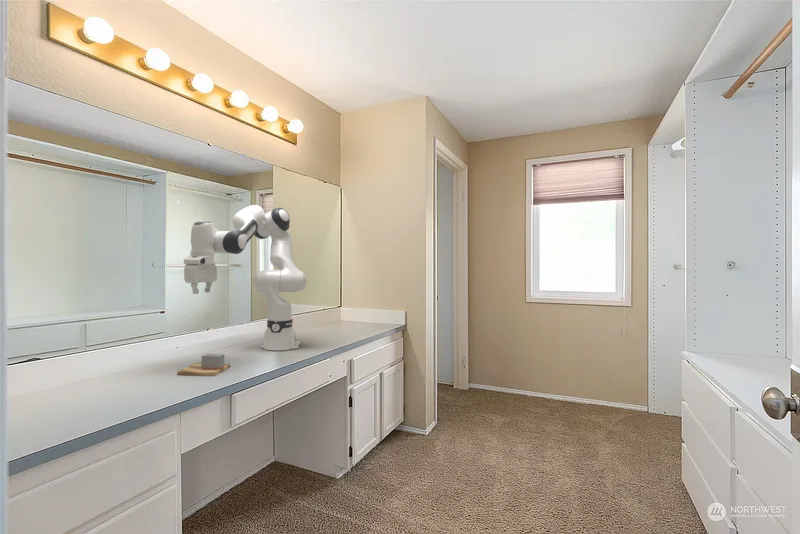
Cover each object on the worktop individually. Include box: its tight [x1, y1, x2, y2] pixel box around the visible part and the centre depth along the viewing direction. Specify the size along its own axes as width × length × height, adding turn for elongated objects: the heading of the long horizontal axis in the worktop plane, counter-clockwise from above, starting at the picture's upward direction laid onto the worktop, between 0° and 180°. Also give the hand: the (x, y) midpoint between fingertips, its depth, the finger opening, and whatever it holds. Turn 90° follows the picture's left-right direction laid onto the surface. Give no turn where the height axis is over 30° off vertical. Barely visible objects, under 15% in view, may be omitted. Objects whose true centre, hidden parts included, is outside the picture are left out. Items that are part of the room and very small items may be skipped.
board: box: [176, 362, 231, 377], centre depth 157 cm, size 13×14×1 cm
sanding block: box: [200, 353, 225, 369], centre depth 157 cm, size 4×7×5 cm, turn 89°
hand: (201, 293), depth 169 cm, fingers open, 8 cm apart
